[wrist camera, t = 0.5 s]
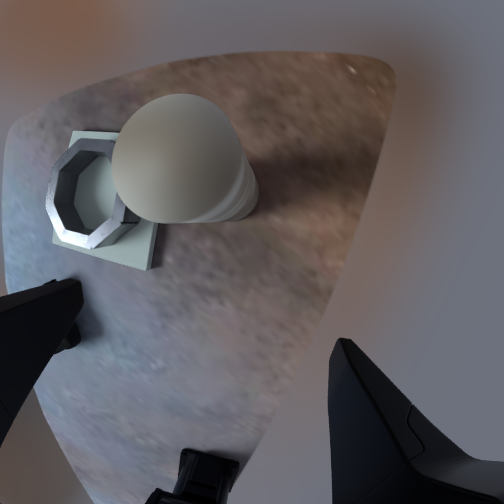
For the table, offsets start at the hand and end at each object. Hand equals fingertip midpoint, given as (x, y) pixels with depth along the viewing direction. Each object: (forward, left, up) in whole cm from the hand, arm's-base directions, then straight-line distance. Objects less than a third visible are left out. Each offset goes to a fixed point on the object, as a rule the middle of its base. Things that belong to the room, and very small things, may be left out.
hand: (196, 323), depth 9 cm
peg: (+5, +2, -14) cm, 15 cm away
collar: (+3, +13, -14) cm, 20 cm away
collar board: (+3, +13, -14) cm, 20 cm away
